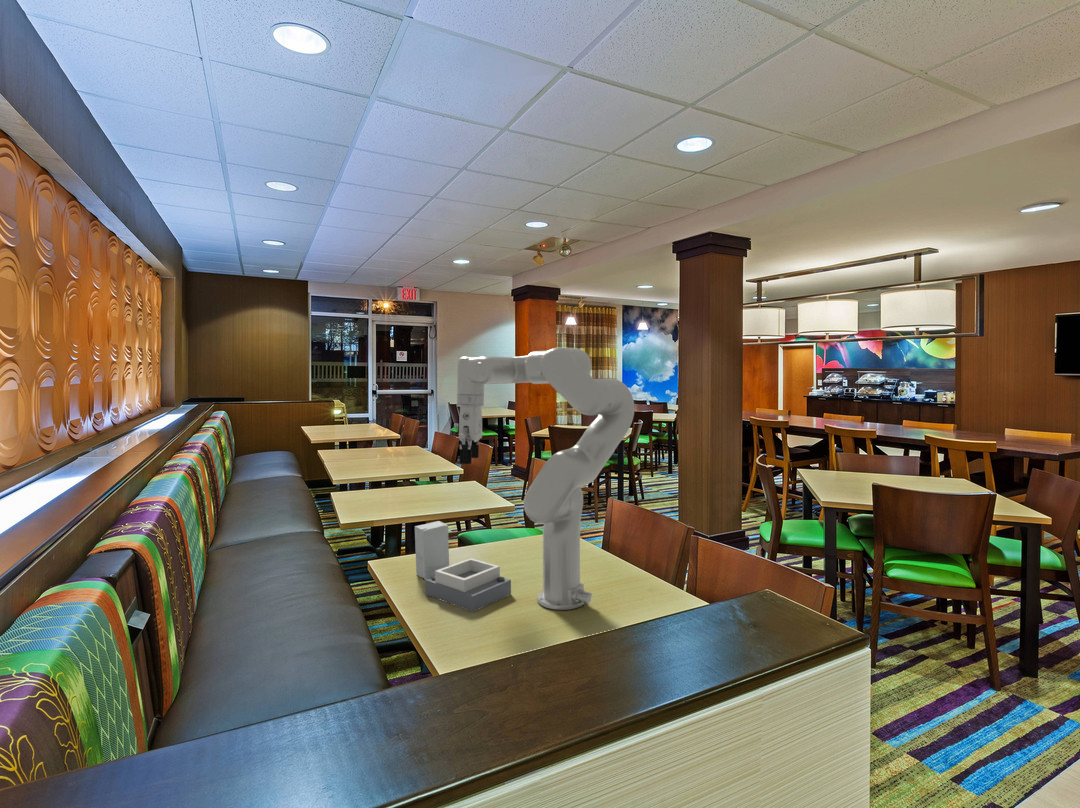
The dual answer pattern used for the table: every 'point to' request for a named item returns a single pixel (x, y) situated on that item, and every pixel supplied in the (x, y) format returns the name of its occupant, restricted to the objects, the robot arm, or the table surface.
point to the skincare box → (431, 548)
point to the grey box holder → (468, 584)
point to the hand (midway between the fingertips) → (469, 460)
